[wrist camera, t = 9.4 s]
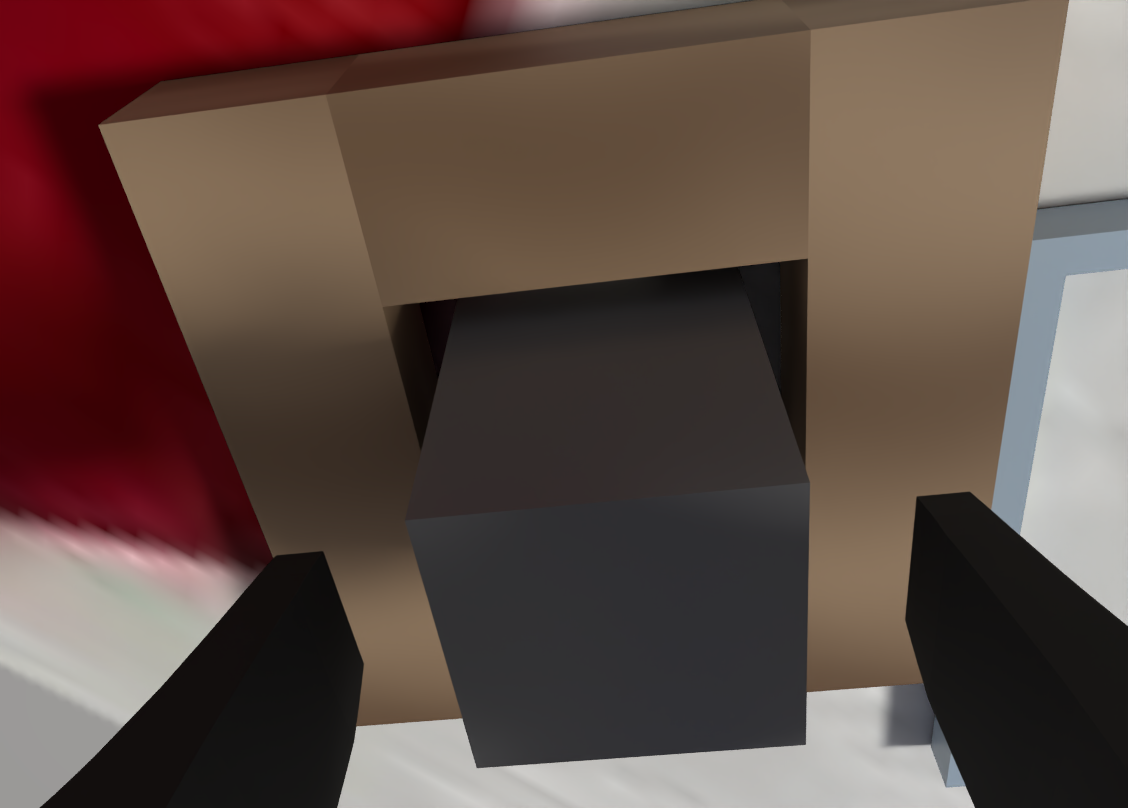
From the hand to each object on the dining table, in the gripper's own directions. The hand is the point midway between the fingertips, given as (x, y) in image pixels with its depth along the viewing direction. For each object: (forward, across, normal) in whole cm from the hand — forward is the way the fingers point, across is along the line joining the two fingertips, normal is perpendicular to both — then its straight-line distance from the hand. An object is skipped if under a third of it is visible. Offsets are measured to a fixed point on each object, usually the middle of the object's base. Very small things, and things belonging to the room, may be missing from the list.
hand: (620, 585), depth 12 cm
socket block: (+5, 0, 0) cm, 5 cm away
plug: (+5, 0, 0) cm, 5 cm away
